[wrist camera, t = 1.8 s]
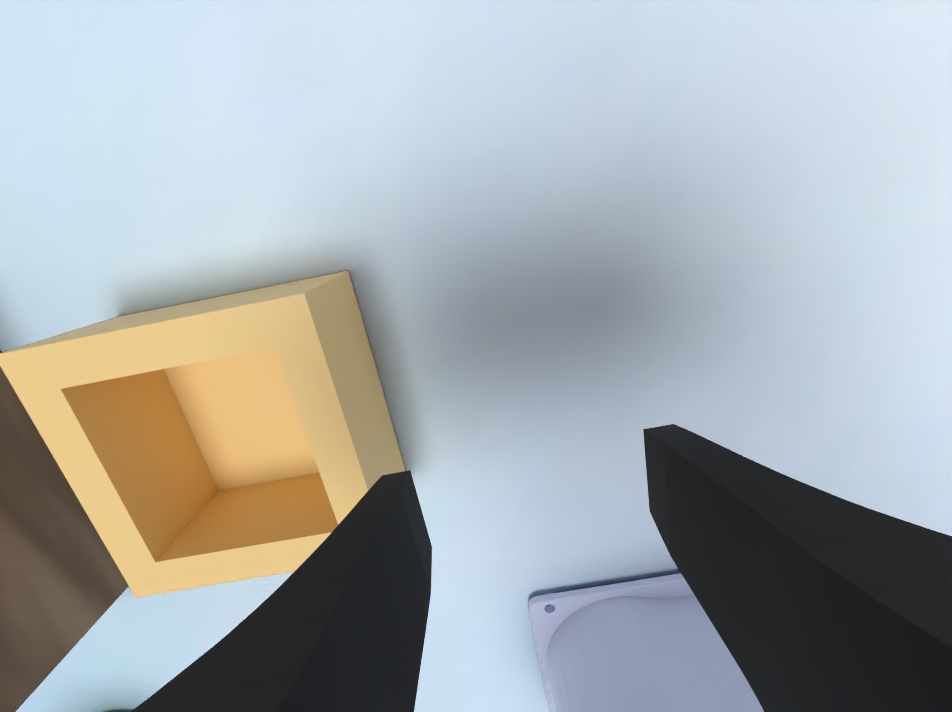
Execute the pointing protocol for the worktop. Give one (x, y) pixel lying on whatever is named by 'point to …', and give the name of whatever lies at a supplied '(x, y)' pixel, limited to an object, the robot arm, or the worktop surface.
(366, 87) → the worktop surface
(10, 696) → the walnut wall
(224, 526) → the socket block
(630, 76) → the worktop surface
